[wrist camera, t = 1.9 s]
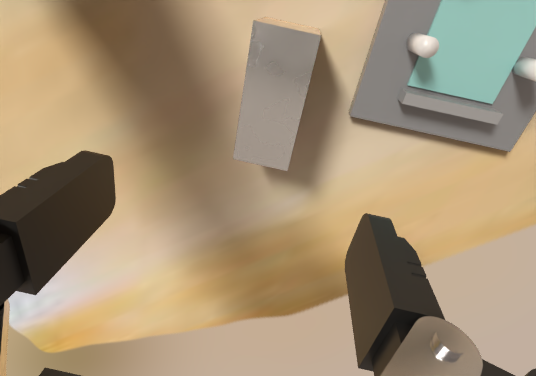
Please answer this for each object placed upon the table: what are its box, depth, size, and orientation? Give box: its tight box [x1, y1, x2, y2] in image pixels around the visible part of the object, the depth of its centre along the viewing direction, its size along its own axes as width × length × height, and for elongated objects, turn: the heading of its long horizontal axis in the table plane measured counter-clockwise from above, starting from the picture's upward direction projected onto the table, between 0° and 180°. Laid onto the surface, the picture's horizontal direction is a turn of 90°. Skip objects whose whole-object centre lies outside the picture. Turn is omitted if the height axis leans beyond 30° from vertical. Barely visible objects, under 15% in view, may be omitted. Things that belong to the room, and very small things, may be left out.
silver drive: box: [233, 17, 321, 171], centre depth 23 cm, size 4×9×6 cm, turn 169°
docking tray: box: [349, 0, 536, 152], centre depth 20 cm, size 13×18×4 cm
